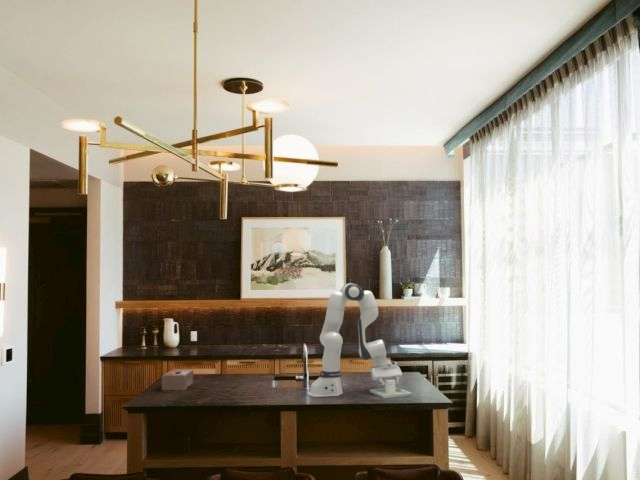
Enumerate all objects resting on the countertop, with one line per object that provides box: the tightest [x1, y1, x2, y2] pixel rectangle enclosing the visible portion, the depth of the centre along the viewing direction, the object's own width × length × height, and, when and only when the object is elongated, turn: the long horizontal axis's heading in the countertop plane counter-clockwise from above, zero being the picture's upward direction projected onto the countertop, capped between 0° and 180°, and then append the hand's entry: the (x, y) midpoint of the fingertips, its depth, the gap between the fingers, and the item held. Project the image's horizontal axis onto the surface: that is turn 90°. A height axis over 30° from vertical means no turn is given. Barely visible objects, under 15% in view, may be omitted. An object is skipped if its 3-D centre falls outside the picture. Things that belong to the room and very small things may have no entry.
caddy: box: [384, 379, 397, 394], centre depth 367 cm, size 5×5×8 cm
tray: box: [369, 387, 413, 399], centre depth 367 cm, size 18×20×2 cm
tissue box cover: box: [161, 369, 194, 391], centre depth 398 cm, size 26×14×10 cm, turn 179°
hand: (390, 384), depth 367 cm, fingers open, 8 cm apart
